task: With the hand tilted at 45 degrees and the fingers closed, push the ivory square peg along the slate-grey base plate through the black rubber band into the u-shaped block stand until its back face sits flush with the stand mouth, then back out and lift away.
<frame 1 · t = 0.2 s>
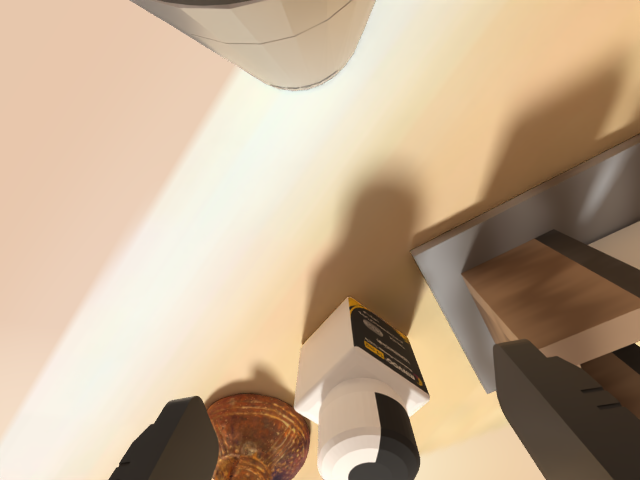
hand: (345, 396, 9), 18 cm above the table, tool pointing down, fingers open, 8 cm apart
medicine bottle: (353, 340, 30), on the table
u-shaped block stand: (561, 272, 27), on the table
bell: (256, 430, 34), on the table
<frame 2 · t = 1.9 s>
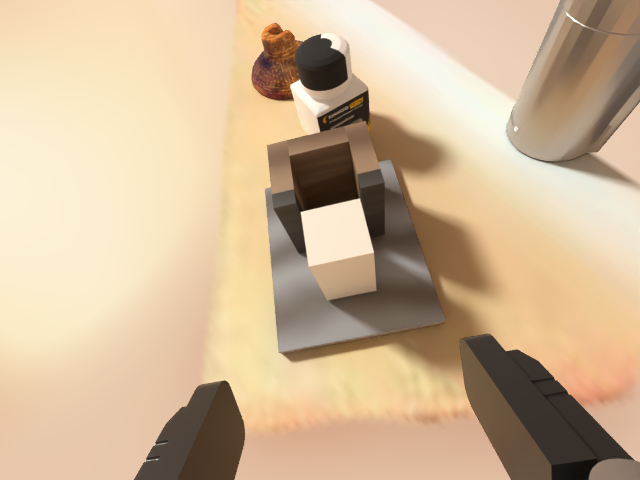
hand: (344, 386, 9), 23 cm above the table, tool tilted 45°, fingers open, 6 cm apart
peg: (341, 254, 29), point 6 cm above the table, slide at 0.0 cm
medicine bottle: (335, 131, 45), on the table
u-shaped block stand: (342, 249, 36), on the table
bell: (289, 77, 52), on the table
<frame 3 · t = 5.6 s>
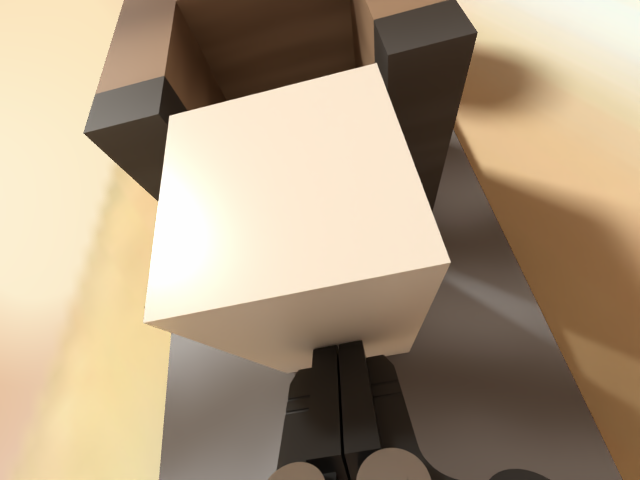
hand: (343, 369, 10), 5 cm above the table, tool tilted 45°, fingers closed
peg: (318, 263, 10), point 6 cm above the table, slide at 0.8 cm, touching gripper
u-shaped block stand: (332, 262, 17), on the table
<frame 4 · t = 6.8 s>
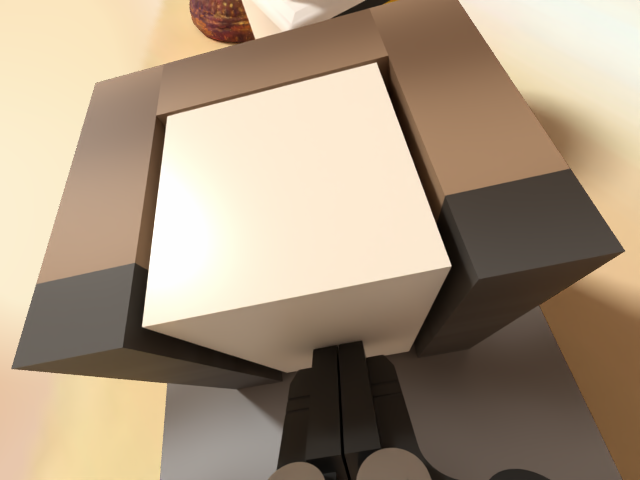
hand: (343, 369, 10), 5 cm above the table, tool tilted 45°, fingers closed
peg: (318, 263, 10), point 6 cm above the table, slide at 6.3 cm, touching gripper
medicine bottle: (336, 92, 23), on the table
u-shaped block stand: (351, 372, 14), on the table
bell: (258, 9, 30), on the table
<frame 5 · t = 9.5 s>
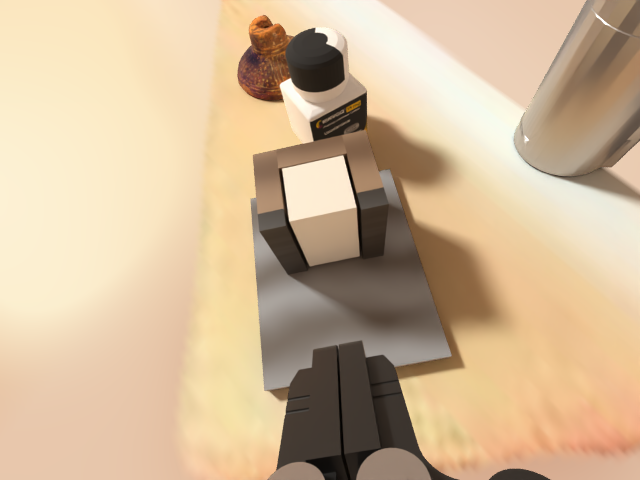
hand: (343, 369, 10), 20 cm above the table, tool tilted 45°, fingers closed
peg: (324, 216, 28), point 6 cm above the table, slide at 6.3 cm
medicine bottle: (329, 135, 41), on the table
u-shaped block stand: (336, 269, 33), on the table
bell: (279, 75, 48), on the table
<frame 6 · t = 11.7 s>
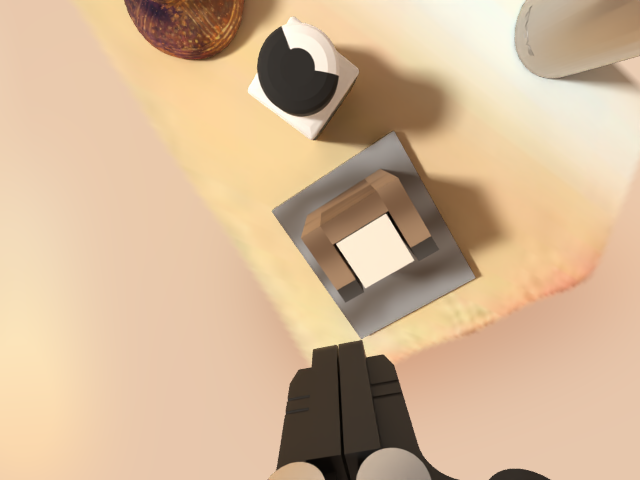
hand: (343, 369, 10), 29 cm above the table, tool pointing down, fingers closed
peg: (369, 237, 32), point 6 cm above the table, slide at 6.3 cm
medicine bottle: (307, 93, 34), on the table
u-shaped block stand: (374, 242, 39), on the table
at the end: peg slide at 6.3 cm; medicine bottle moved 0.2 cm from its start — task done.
